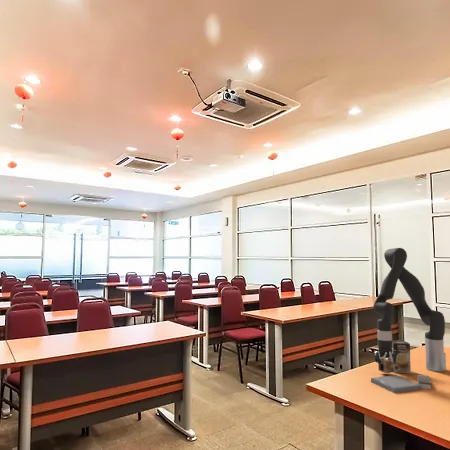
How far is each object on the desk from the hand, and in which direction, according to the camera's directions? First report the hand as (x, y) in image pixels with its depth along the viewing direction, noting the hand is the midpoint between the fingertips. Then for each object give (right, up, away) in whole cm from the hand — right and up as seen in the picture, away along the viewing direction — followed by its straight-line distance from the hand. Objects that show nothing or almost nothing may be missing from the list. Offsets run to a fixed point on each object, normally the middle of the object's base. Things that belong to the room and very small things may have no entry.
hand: (386, 369), depth 200 cm
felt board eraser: (+12, -1, -16) cm, 20 cm away
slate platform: (-3, -1, -18) cm, 18 cm away
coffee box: (+10, -3, +5) cm, 12 cm away
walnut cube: (0, -1, 0) cm, 1 cm away
